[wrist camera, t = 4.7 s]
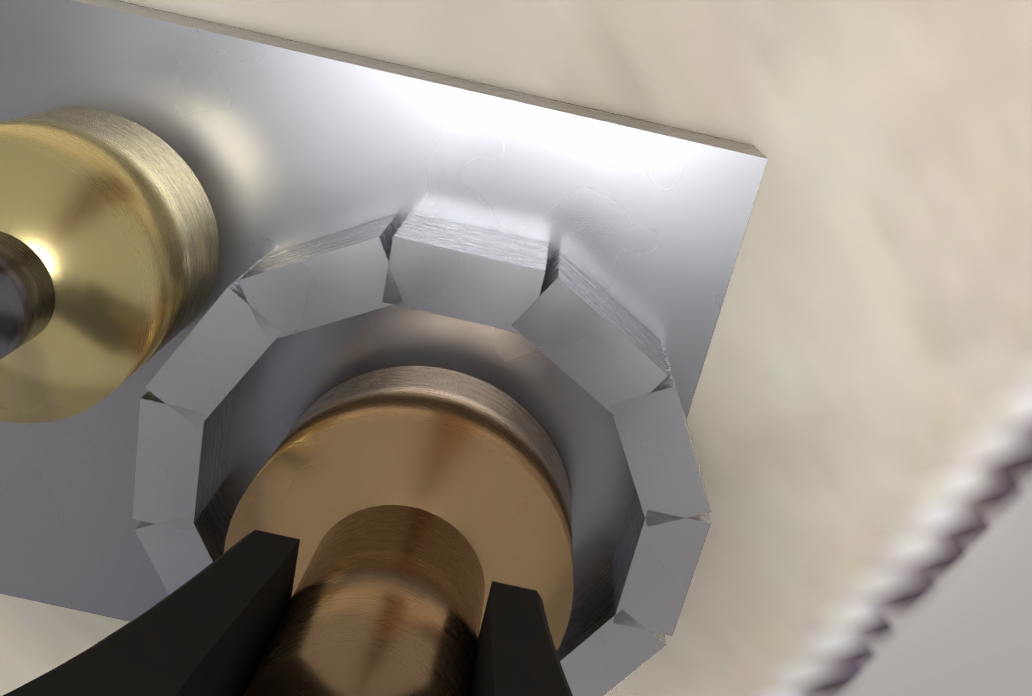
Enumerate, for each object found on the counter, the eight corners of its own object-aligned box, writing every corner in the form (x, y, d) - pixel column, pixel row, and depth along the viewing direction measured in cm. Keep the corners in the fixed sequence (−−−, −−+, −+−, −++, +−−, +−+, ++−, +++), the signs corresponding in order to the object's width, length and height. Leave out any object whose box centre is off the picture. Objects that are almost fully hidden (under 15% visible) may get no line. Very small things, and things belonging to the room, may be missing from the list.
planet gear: (527, 668, 17) (511, 974, 11) (248, 598, 17) (90, 872, 11) (607, 410, 16) (636, 612, 10) (302, 330, 15) (150, 488, 10)
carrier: (614, 682, 19) (626, 906, 14) (-39, 541, 19) (-241, 724, 14) (783, 152, 15) (876, 227, 10) (-45, -37, 15) (-328, -46, 10)
